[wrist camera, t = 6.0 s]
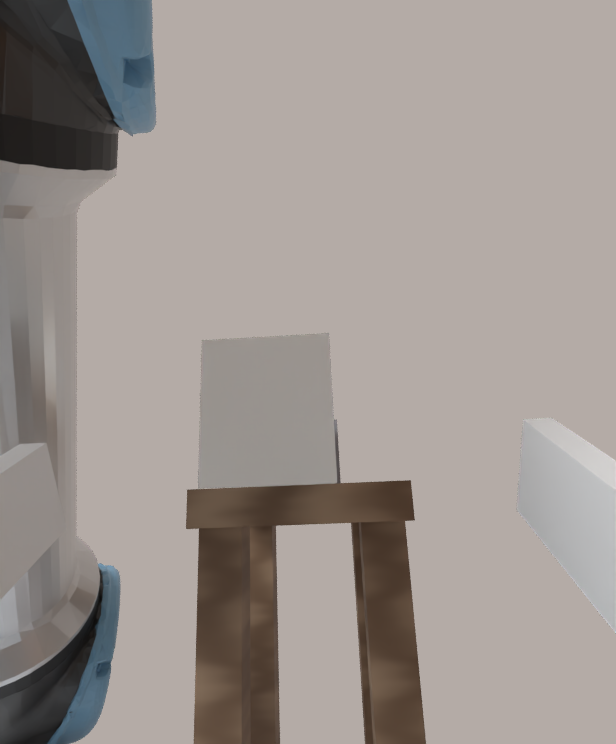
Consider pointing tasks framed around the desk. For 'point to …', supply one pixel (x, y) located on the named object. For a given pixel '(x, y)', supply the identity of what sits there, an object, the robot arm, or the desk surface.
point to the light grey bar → (267, 413)
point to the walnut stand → (259, 606)
